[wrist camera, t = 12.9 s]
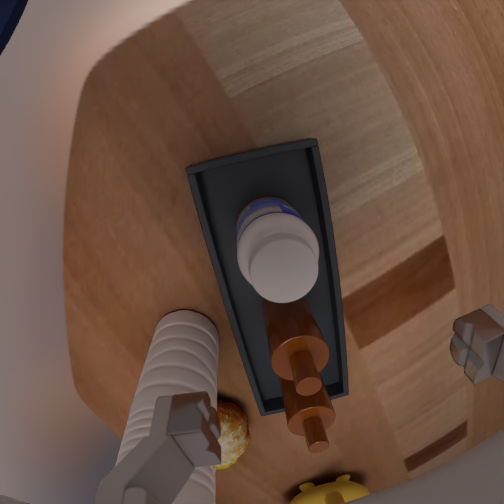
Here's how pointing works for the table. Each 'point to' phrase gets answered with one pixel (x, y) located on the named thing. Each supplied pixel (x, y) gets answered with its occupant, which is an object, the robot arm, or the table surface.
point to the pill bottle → (276, 250)
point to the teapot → (330, 492)
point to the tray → (226, 263)
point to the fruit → (231, 433)
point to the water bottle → (177, 386)
